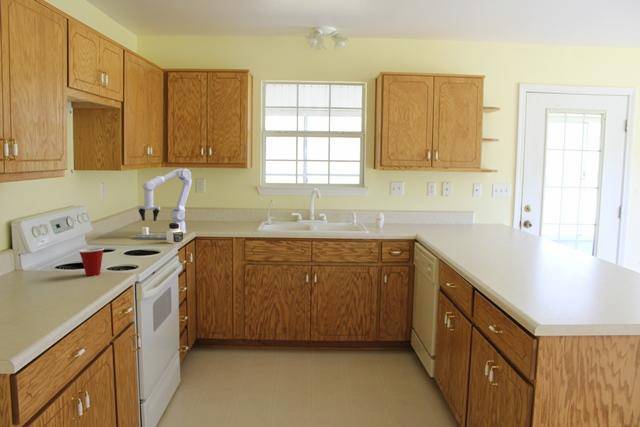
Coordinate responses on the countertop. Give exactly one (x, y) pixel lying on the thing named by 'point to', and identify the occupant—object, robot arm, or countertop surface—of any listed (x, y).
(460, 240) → the countertop surface
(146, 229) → the fader
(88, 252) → the plastic cup
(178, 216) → the robot arm
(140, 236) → the console
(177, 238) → the medicine bottle
